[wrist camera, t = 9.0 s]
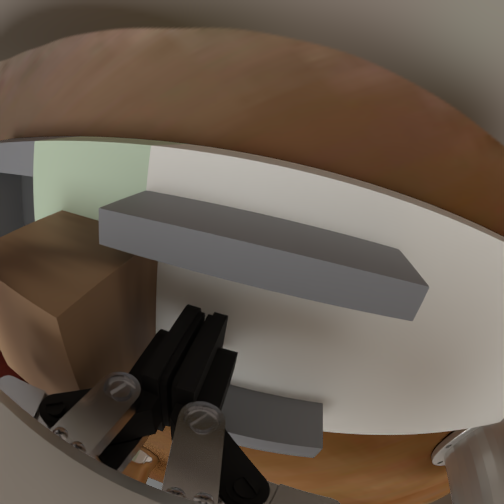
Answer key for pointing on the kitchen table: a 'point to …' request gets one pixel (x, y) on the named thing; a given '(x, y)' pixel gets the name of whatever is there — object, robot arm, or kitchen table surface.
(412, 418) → the channel deck
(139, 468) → the beer glass
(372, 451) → the kitchen table surface
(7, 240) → the walnut block
